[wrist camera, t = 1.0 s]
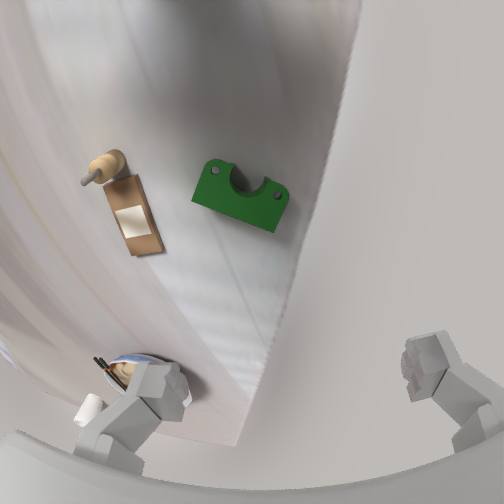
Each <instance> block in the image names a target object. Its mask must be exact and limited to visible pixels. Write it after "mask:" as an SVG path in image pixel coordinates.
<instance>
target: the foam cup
mask: <svg viewBox="0 0 504 504" xmlns="http://www.w3.org/2000/svg"><path fill="white" fill-rule="evenodd" d="M102 404H103V400H102V399H101V398H99V397H98V396H96V395H93V394H88V395H87V397H86V399H85V400H84V402H83V404H82V406H81V407H80V409H79V411H78V413H77V414H76V415H75V418H74V422H75V423H76V424H78V425H79V426H81V427H82V428H83V427H84V426H85V425H87V424H88V423H89V422H90V421H91V420H92V419H94V418H95V417H96V416H97V415H98V414H100V413H101V409H102Z"/></svg>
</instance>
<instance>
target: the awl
mask: <svg viewBox="0 0 504 504" xmlns="http://www.w3.org/2000/svg"><path fill="white" fill-rule="evenodd" d="M125 163H126V160H125V156H124V155H123V153H122V152H121V151H119V150H111V151H109V152H107V153H105V154H104V155H102V156H100V157H99V158H97V159H95V160H93V161H92V162H91V163H90V165H89V175H87V176H86V177H84V178H83V179H81V184H82V185H83V186H86V185H87V184H89V183H90V182H91V181H94V182H95V183H98V184H103V183H105V182H107V181H108V180H109V179H111V178H112V177H113V176H115V175H116V174H117V173H119V172H120V171H121V170H122V169H123V168H124V167H125Z"/></svg>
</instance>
